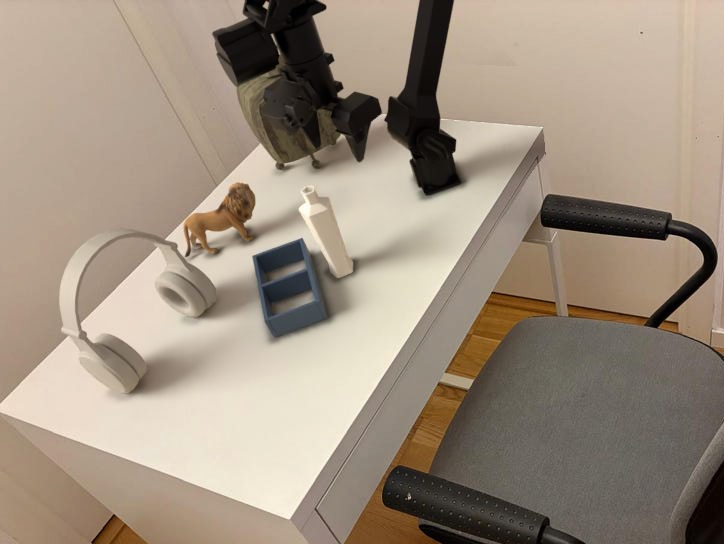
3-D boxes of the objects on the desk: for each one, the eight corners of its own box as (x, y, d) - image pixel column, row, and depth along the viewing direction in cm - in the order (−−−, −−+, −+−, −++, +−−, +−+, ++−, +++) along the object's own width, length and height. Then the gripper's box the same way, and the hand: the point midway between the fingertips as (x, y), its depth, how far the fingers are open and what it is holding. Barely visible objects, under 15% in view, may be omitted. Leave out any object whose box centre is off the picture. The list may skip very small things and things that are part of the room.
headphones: (189, 292, 117) (123, 193, 103) (228, 303, 113) (165, 203, 99) (98, 387, 107) (10, 291, 92) (138, 402, 103) (53, 306, 89)
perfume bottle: (328, 262, 116) (292, 183, 104) (355, 256, 115) (322, 177, 104) (326, 282, 113) (289, 203, 101) (354, 276, 112) (320, 196, 101)
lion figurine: (265, 215, 127) (243, 172, 120) (273, 232, 124) (251, 187, 117) (183, 251, 124) (156, 209, 118) (189, 269, 121) (162, 226, 114)
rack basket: (310, 254, 118) (302, 237, 115) (328, 318, 107) (319, 301, 105) (261, 272, 117) (252, 255, 115) (274, 338, 107) (264, 321, 104)
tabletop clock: (339, 136, 139) (289, 3, 121) (358, 156, 134) (309, 20, 115) (269, 170, 136) (207, 38, 118) (286, 192, 130) (223, 57, 112)
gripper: (215, 71, 100) (259, 168, 112) (307, 97, 91) (346, 200, 103) (274, 33, 105) (311, 129, 117) (367, 54, 96) (397, 157, 108)
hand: (339, 153), depth 111 cm, fingers open, 9 cm apart
